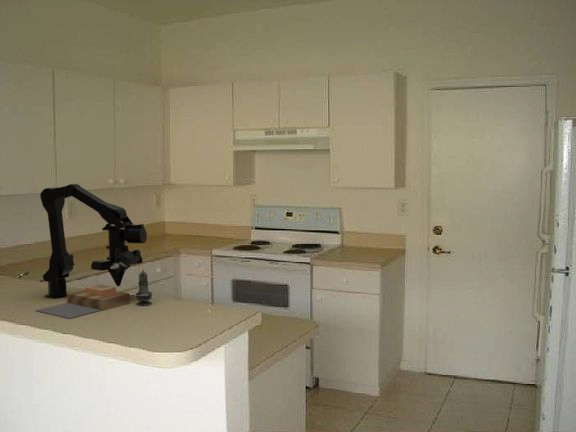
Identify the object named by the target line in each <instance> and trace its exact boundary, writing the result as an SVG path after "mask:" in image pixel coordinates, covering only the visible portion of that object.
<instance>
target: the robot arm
mask: <svg viewBox="0 0 576 432" xmlns="http://www.w3.org/2000/svg"><path fill="white" fill-rule="evenodd" d="M70 197H72V198H74V199H76V200H78V201H79V202H81V203H82V204H84V205H85V206H87V207H88V208H90V209H92V210H94V211H95V212H97V214H99V216H100V217H101V219H103V220H104V221H105V222H106V224H105V226H103V227H102V229H101V230H102V231H107V232H108V234H107V235H108V238H107V239H108V245H106V246H105V247H106V248H105V249H106V250H108V256H107V257H106V259H105V260H104V259H99V260H93V261H92V262H91V264H90V267H91V268H90V269H91V270H95V271H100V272H101V271H102V272H103V271H107V272H108V273H109V275H110V277H111V278H112V280H113V282H114V284H115V285H116V286H115V287H120V286H121V285H122V282H123V278H124V275H125V273H126V271H127V270H128V269H129V268H131V267H132V266H133V265H138V264H143V262H144V261H143V257H142V254H141V251H140V249H133V250H129V245H127V244H145V243H146V241H147V238H148V232H147V230H146V228H145V224H143V223H140V224H134V223H133V222H132V219H130V217H129V215H128V214H127V211H126V209H125V208H124V207H121V206H119V205H116V204H112V203H108V202H106V201H105V200H103V199H102V198H100V197H98V196H96V195H95V194H93V193H91V192H90V191H89V190H87V189H85V188H83V187H82V186H81V185H79V184H78V183H72V184H71V183H69V184H68V185H65V186H61V187H58V186H56V187H46V188H44V189H42V191H41V192H40V200H41V204H42V207H43V209H44V210H45V212H46V213H47V219H48V220H47V221H48V229H49V237H50V244H51V254H50V257H49V261H48V262H49V263H48V270H46V272H45V273H44V274H43V275H42V279H43V280H44V281H43V282H47V289H48V291H47V293H48V294H44V297H48V298H51V299H58V298H63V297H67V293H68V292H67V279H66V278H69V277H70V275H71V274H70V273H72V271H73V270H74V266H75V262H74V254H73V253H71V254H69V252H68V250H67V244H66V237H65V229H64V226H65V225H64V219H63V218H64V217H63V209H64V206H65V203H66V202H65V201H66V199H67V198H70ZM126 243H127V244H126Z"/></svg>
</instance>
